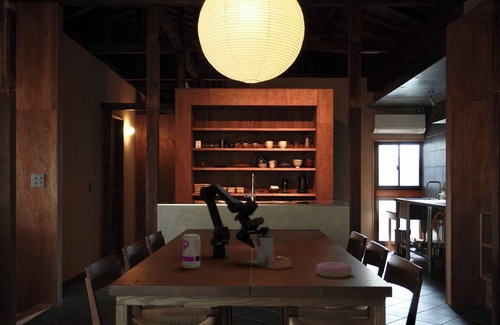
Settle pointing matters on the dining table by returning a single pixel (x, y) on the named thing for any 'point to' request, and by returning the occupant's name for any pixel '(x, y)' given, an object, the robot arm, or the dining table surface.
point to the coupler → (274, 263)
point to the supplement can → (191, 251)
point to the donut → (333, 269)
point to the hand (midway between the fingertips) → (261, 246)
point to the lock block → (264, 248)
